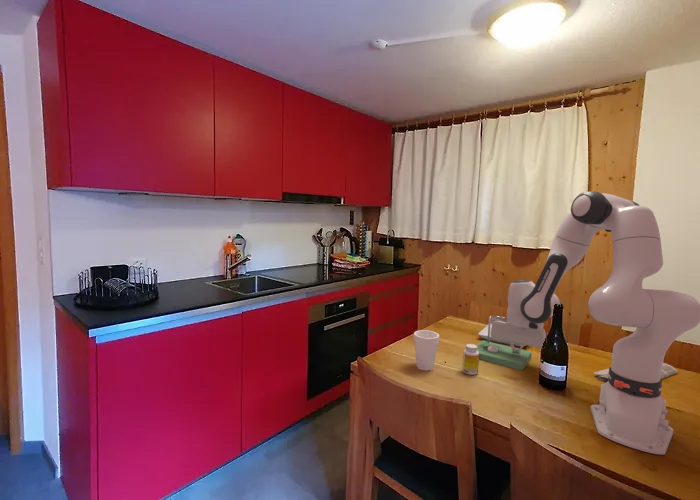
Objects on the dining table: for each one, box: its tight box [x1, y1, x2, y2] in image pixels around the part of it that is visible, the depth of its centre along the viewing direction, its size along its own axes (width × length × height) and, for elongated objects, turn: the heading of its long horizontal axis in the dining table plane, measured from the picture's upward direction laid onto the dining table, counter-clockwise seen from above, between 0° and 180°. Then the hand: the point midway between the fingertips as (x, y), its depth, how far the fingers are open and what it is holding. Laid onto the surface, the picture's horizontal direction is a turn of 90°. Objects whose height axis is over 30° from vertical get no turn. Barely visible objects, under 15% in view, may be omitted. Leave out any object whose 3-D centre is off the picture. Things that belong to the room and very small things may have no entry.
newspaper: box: [593, 362, 678, 382], centre depth 132 cm, size 35×12×4 cm, turn 116°
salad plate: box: [478, 324, 527, 347], centre depth 168 cm, size 21×21×3 cm
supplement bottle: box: [462, 343, 480, 376], centre depth 132 cm, size 6×6×10 cm
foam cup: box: [413, 329, 440, 372], centre depth 135 cm, size 10×9×13 cm
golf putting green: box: [475, 339, 532, 371], centre depth 146 cm, size 16×20×2 cm
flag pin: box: [486, 314, 493, 343], centre depth 156 cm, size 4×1×12 cm, turn 142°
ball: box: [487, 345, 498, 352], centre depth 148 cm, size 4×4×4 cm
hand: (516, 353), depth 142 cm, fingers closed
